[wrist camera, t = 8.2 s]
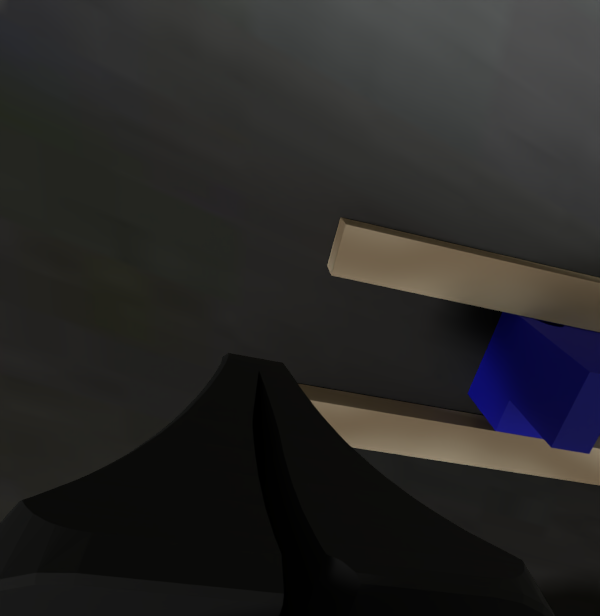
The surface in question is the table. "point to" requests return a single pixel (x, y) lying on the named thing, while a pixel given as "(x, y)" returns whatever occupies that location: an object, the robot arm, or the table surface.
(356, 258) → the channel
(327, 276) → the table surface
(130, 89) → the table surface
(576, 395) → the blue stepped block
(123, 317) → the table surface
